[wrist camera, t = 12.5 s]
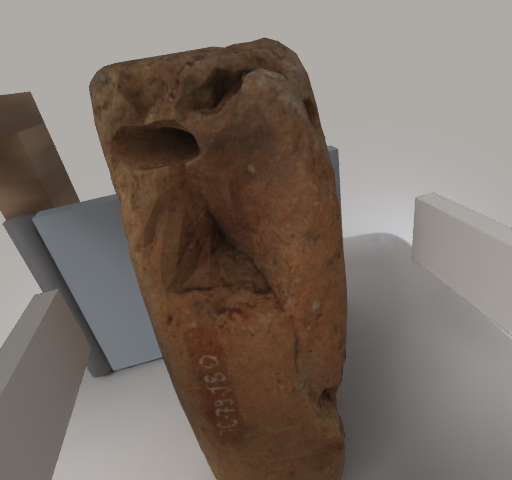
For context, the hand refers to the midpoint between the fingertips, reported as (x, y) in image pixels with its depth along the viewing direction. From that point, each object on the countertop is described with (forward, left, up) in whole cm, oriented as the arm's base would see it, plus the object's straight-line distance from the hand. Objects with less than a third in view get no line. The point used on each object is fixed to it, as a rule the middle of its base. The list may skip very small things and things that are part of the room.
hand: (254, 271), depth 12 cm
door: (-3, +11, -12) cm, 17 cm away
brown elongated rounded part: (0, +3, -13) cm, 13 cm away
